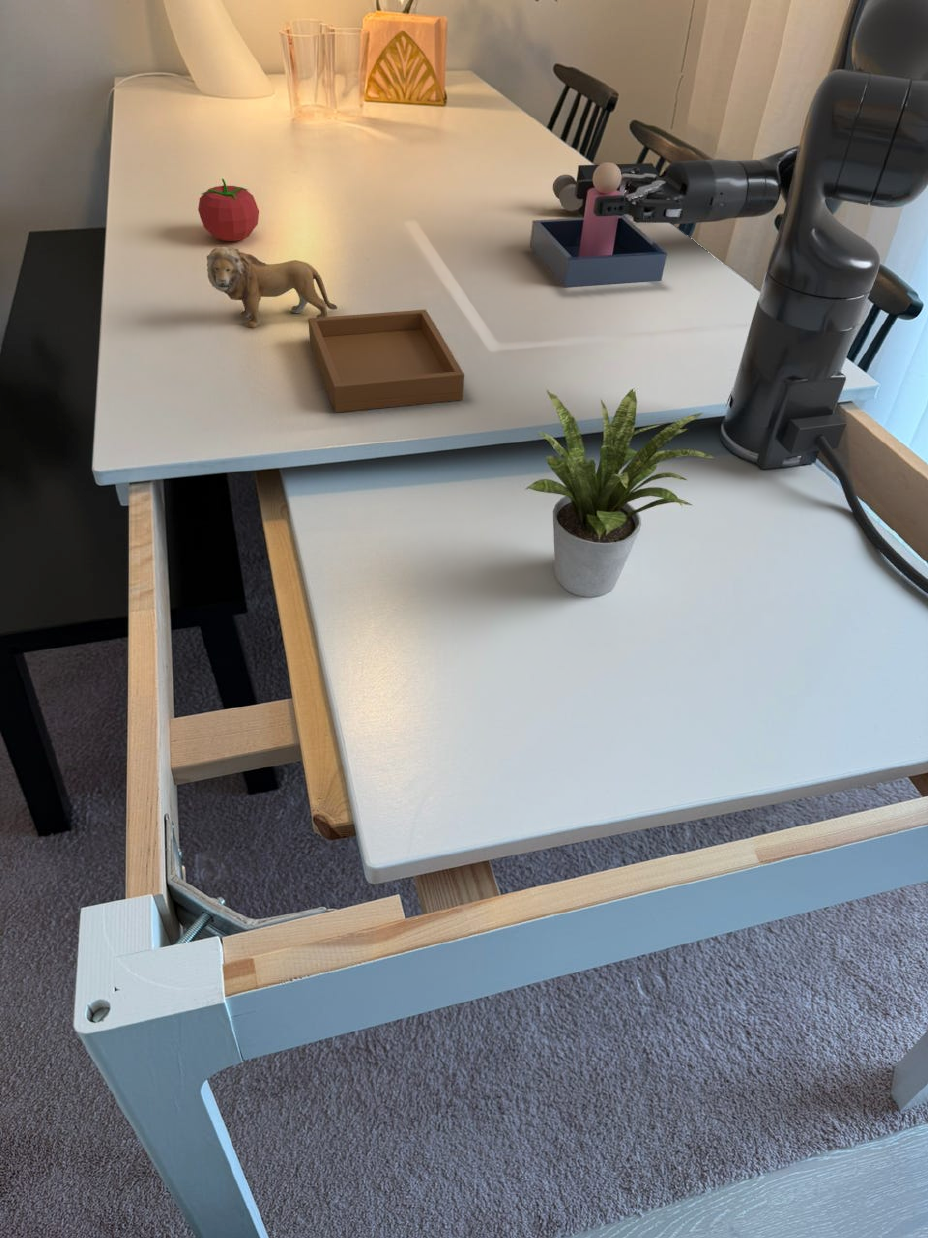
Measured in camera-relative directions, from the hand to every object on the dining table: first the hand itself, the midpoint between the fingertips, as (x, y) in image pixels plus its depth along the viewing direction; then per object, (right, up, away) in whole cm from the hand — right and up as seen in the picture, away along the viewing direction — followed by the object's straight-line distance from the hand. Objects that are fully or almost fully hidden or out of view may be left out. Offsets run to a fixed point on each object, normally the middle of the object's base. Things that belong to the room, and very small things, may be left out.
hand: (586, 197), depth 117 cm
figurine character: (+5, +7, +22) cm, 24 cm away
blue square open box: (+2, -6, +7) cm, 10 cm away
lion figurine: (-38, -19, -9) cm, 43 cm away
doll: (+2, -6, +6) cm, 9 cm away
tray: (-24, -26, -16) cm, 40 cm away
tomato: (-47, -2, +8) cm, 48 cm away
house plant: (-5, -51, -41) cm, 66 cm away
